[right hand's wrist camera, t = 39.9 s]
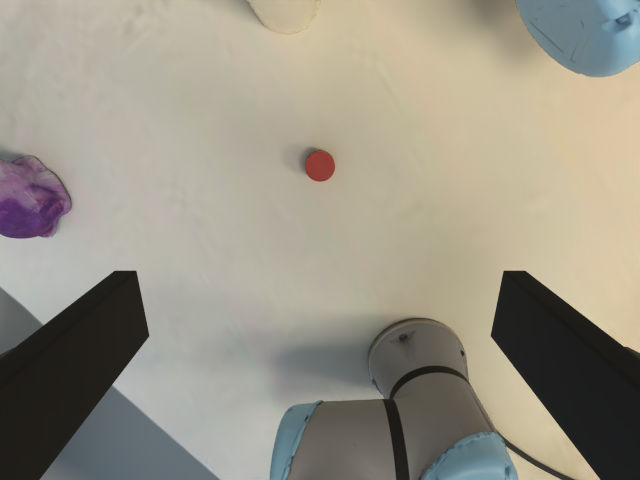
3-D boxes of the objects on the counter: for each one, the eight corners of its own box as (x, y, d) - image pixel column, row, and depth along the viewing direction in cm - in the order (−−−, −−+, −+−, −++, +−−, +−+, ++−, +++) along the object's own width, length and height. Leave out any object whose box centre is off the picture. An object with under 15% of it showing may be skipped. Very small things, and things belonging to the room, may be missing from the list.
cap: (304, 152, 46) (303, 153, 44) (332, 148, 45) (333, 150, 44) (307, 180, 47) (307, 182, 45) (335, 177, 47) (336, 179, 45)
